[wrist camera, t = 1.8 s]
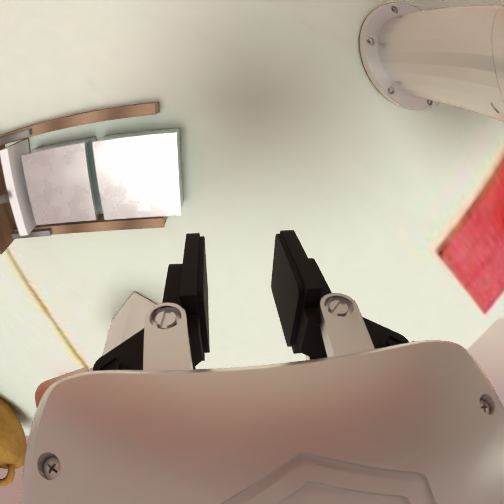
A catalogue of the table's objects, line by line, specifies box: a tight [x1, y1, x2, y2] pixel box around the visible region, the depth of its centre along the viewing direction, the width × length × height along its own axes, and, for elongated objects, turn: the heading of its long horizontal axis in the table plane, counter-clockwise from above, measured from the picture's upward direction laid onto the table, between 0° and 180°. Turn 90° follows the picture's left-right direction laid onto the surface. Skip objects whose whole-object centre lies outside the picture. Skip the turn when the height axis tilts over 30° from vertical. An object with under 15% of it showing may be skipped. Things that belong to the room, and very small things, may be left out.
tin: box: [92, 128, 183, 220], centre depth 25 cm, size 8×8×4 cm
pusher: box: [0, 139, 37, 236], centre depth 22 cm, size 1×9×4 cm, turn 177°
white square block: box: [21, 137, 103, 225], centre depth 24 cm, size 8×8×4 cm
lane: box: [0, 102, 167, 254], centre depth 23 cm, size 20×12×6 cm, turn 88°
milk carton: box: [102, 292, 156, 356], centre depth 29 cm, size 7×7×19 cm
